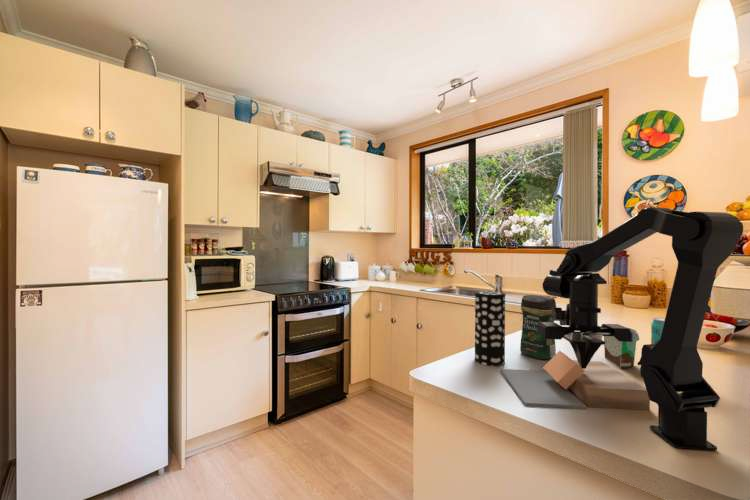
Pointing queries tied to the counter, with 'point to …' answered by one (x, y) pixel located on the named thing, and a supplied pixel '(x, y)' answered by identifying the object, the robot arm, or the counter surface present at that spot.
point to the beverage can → (656, 329)
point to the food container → (621, 351)
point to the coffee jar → (533, 314)
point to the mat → (540, 389)
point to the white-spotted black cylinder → (490, 328)
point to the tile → (563, 369)
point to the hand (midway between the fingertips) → (582, 368)
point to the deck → (608, 388)
